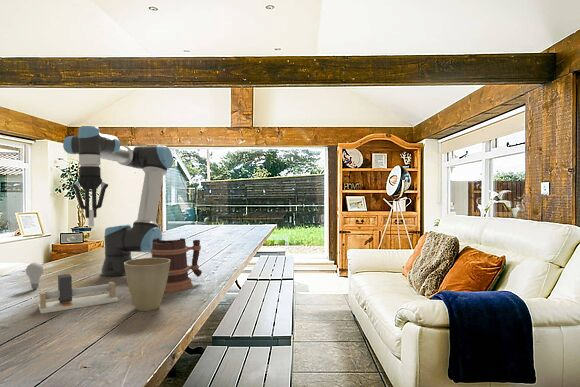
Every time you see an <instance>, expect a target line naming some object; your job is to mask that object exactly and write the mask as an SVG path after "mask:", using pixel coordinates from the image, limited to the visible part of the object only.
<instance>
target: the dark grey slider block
mask: <svg viewBox="0 0 580 387" xmlns="http://www.w3.org/2000/svg"><path fill="white" fill-rule="evenodd" d="M72 282H73V280H72V274H70V273H66V274H58V275H57V283H58V284H57V285H58V287H57V291H59V290H60V298H57V301H59V302H60V303H63V302H70V301H72V299H73V296H72V289H73V285H72V284H73V283H72Z"/></svg>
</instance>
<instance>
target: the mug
mask: <svg viewBox="0 0 580 387" xmlns="http://www.w3.org/2000/svg"><path fill="white" fill-rule="evenodd" d="M192 243H193V245H192V246H188V245H186V238H182V237H181V238H179V239H170V240H169V239H167V240H164V239H162V240H159V238H155V239H153V245H152V249H151V250H150V251H151V252H150V254H151V258H165V259H169V260H170V267H169V274H168V279H167V283H166V287H165V291H164V293H173V292H174V293H175V292H180V291H186V290H189V289H190V288H192V287H193V282H192V278H191V277H189V273H188V272H189V271H191V270H192V272H193V273H194V275H195V276H196V277H197V278H198V277H199V278H200V276H202V273H203V271H202V270H201V269H200V265H199V264H198V261H199V256H200V251H201V249H202V246H201V245H200V244H201V240H200V239H193V240H192ZM190 250H192V260H191V265H188V256H187V252H189V251H190Z"/></svg>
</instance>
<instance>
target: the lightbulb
mask: <svg viewBox="0 0 580 387" xmlns="http://www.w3.org/2000/svg"><path fill="white" fill-rule="evenodd" d="M25 273H26V275H27V278H28V279H29V283H30V287H31V289H32V290H37V289H39V286H40V280H41V276H42V274H44V266H43V265H42V264H41V262H40V263H39V262H32V263H30V264H27V266H26V268H25Z"/></svg>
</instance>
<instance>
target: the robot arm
mask: <svg viewBox="0 0 580 387" xmlns="http://www.w3.org/2000/svg"><path fill="white" fill-rule="evenodd" d="M100 131H101V130H100V128H99V127H98V126H95V125H94V126H93V125H81V126H79V127H78V134H77V135H70V136H66V137H65V138H64V139H63V142H62V147H63V150H64V152H66V153H67V154H70V155H78V165H79V167H78V172H79V173H78V175H79V177H78V180H77V181H76V182H75V183H72V184H71V187H72V189H73V190H74V191H75V192H74V193H75V194H76V195H75V196H76V199H77V202H78V206H79V208H80V209H83V210H84V211H85V212H84V215H85V218H86V219H88V221H87V223H88V224H87V225H88V227H91V228H92V227H95V223H94V222H95V221H94V219H95V218H97V210H98V209H101V208H102V205H103V201H104V197H105V194H106V189H107V188H108V187H109V184H108V183H105V182H104V181H103V179H102V177H101V176H102V175H101V170H102V169H101V159H102V160H108V161H112V162H115V163H116V162H117V163H118V164H119V165H121V166H125V167H130V168H134V169H139V170H142V171H143V172H144V177H143V182H142V183H143V184H142V189H141V194H140V203H139V207H138V214H137V219H136V220H135V221H133V223H132V226H131V224H129V223H128V224H121V225H114V226H108V227H106V228H105V230H104V237H103V238H104V260H103V263H102V267H101V270H100V274H101V276H104V277H105V276H106V277H118V276H119V277H121V276H126V273H125V267H124V262H126V261H129V260H133V258H132V253H151V251H150V250H151V249H152V245H153V239H155V238H159V240H163V234H162V232H163V231H162V230H161V229H160V228H159V224H158V223H157V216H158V210H159V204H160V203H159V202H160V197H161V190H162V184H163V180H164V179H163V177H164V176H165V175H166V174H167V171H168V169H169V170H170V169H171V168H172V167H173V164H174V156H173V153H172V151H171V149H170V148H169V147H168V146H166V145H159V144H158V145H139V146H127V145H122V146H121V140H120V139H119V138H118V137H117V136H114V135H111V134H105V133H101V132H100ZM80 187H81V188H82V189H83V190H84V192H83V193H84V201H83V198H82V195H81V190H80V189H79V188H80ZM99 187H101V188H100V193H99V196H98V200H97V189H98V188H99ZM90 191H91V209H90Z"/></svg>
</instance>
